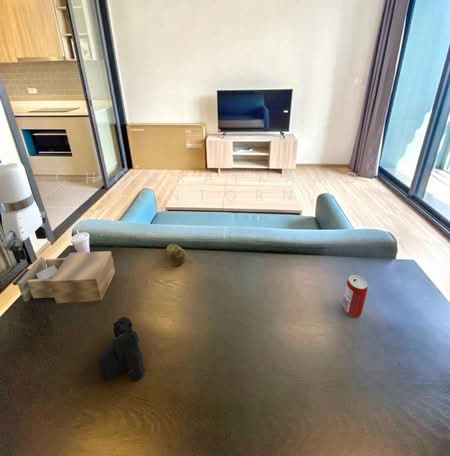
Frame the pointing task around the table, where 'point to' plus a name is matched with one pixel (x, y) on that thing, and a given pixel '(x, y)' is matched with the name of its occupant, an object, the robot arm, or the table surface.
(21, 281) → the drawer
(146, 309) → the table surface
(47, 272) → the small box
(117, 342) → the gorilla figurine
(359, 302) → the soda can
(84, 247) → the smoothie
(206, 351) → the table surface
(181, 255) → the potato
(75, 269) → the brown wooden box
